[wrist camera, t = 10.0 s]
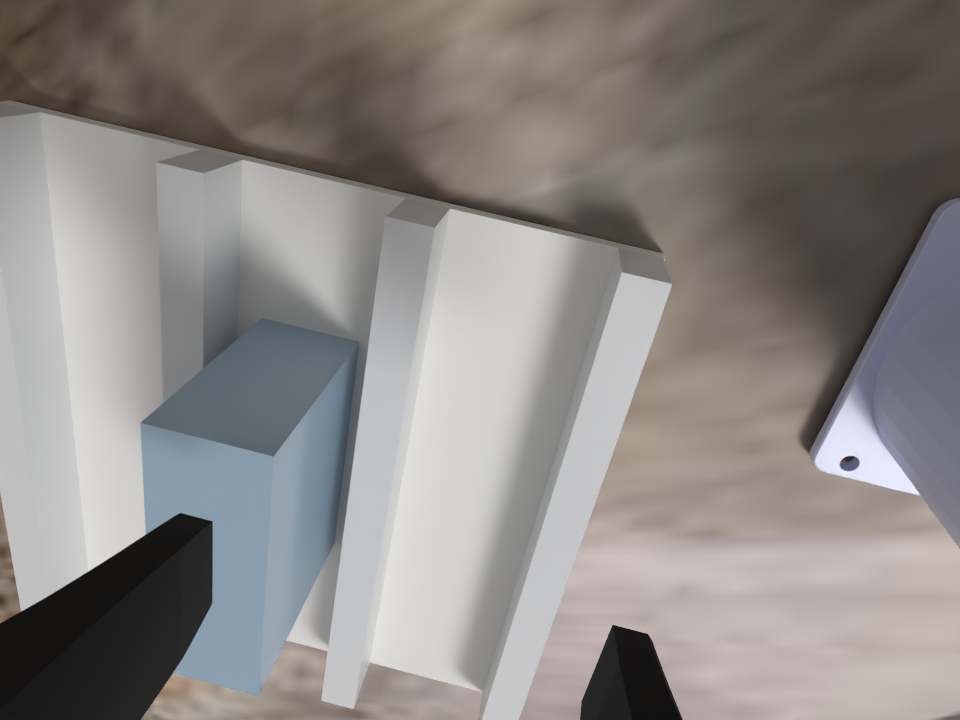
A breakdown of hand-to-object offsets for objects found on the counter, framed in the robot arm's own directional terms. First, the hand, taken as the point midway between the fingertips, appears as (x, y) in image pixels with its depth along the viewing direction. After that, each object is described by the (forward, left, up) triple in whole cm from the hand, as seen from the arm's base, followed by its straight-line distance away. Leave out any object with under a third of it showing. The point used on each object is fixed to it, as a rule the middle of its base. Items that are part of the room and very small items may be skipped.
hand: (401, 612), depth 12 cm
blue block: (+5, +4, -9) cm, 11 cm away
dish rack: (+5, +4, -9) cm, 11 cm away
